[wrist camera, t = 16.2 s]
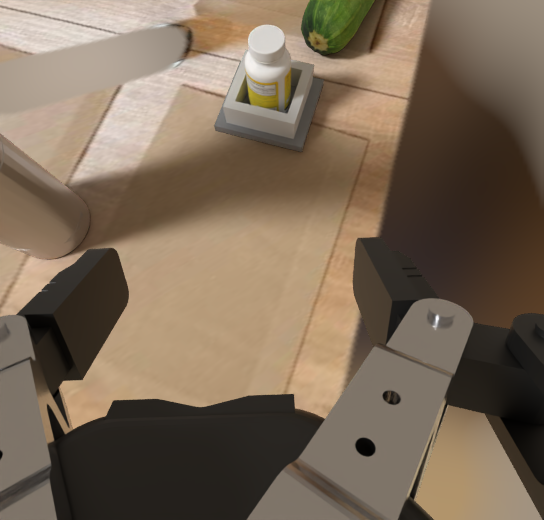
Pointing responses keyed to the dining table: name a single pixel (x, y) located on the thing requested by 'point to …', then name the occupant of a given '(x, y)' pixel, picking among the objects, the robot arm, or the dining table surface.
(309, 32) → the vegetable
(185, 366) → the dining table surface
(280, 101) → the supplement bottle
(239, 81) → the board
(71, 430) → the robot arm
